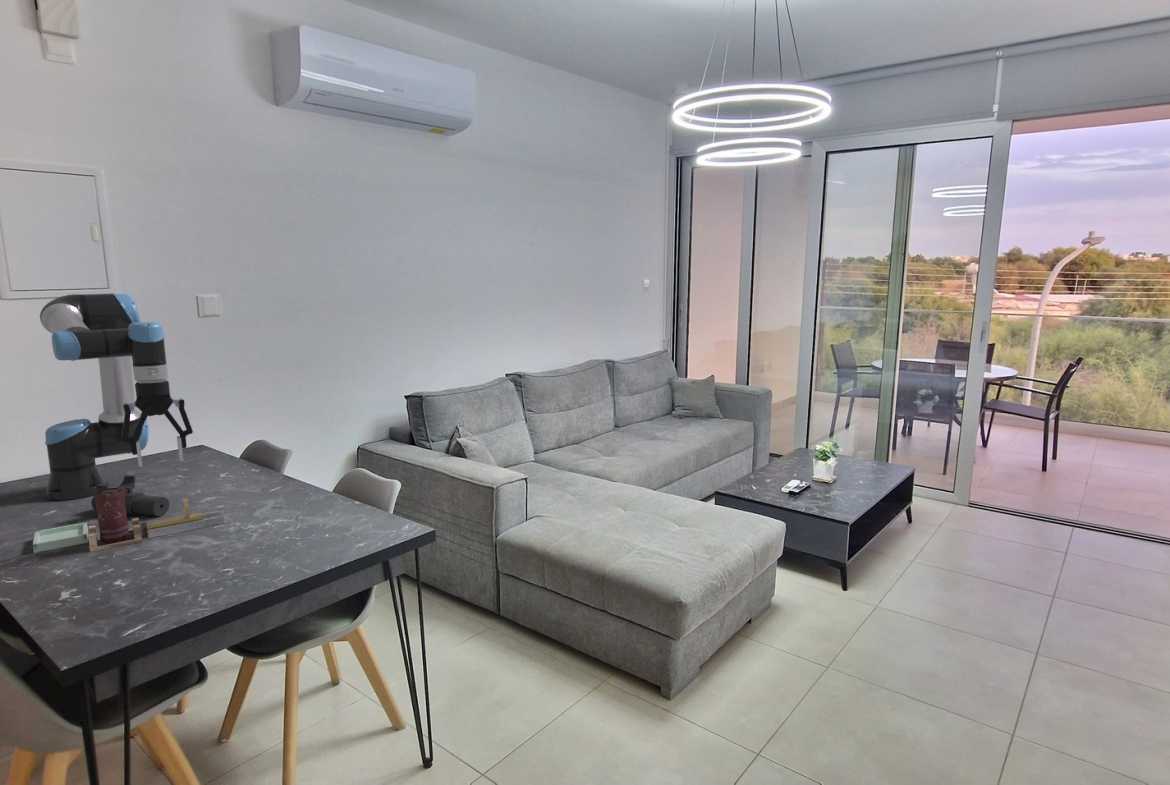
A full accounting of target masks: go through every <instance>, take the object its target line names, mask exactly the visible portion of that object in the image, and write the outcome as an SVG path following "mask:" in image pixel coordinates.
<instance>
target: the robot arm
mask: <svg viewBox="0 0 1170 785" xmlns="http://www.w3.org/2000/svg"><path fill="white" fill-rule="evenodd" d="M39 319H40V320H39V321H40V323H41V325H42V327H43V328H44V329H45V330H46V331H47V332H49V333H50V334H52V335H51V345H52V351H53V354H54V357H55V359H56V360H57V361H71V362H72V361H74V362H75V361H80V360H81V361H82V360H91V359H92V360H95V359H98V365H99V377H100V387H101V396H102V397H101V398H102V399H101V400H102V409H103V411H102V412H101V413H99V415H98V421H97V422H91V421H90V419H89V418H88V419H87V418H80V419H78V418H77V419H71V420H67V421H63V422H59V423H57V424H53V425H51V426H49V427H48V428H47V429H45V433H44V434H45V441H44V444H45V445H46V450H47V457H48V459H47V460H48V464H49V466H48V467H49V472H50V473H49V478H48V482H47V486H46V489H45V494H46V499H48V500H51V501H67V500H68V501H69V500H76V499H82V498H86V497H90V496H94V495H95V494H96V492H98V489H97V487H96V485H106V483H105V482H106V481H105V479H104V478H103V477H102V474H101V473H100V471H99V469H98V467H97V464H96V459H98V458H106V457H112V456H118V455H119V456H120V455H125V454H128V455H129V454H131V455H132V456H135V455H137V464H138V465H137V466H138V468H143V460H142V451H143V450H144V449H146V447H147V445H148V442H149V424H148V423H149V422H148V420H147V418H148V417H153V416H163V415H164V417H165V418H166V419H167V420H168V421H169V423H170V424H171V426H172V427H173V428H174V430H175V431H176V432H177V433H178V434H179V435H178V436H176V443H177V450H178V460H179V461H180V462H184V453H183V449H186V448H187V436H188V435H192V434H193V432H194V430H193V428H192V425H191V422H190V420H189V417H188V414H187V411H186V409H185V400H184V399H183V398H182V397H180V398H172V396H171V392H170V382H169V380H167V379H169V373H168V365H167V356H166V355H167V354H166V347H165V334H164V330H163V325H162V324H161V323H160V322H157V321H156V322H154V321H141V317H140V314H139V310H138V307H137V304H136V302H135V300H134V298H133V297H132V296H131V295H129V294H125V293H122V294H121V293H115V292H113V293H89V294H88V293H86V294H83V293H82V294H81V293H80V294H77V293H76V294H75V293H74V294H73V293H72V294H66V295H62V296H59V297H56V298H54V299H52V300H50V301H49V302H47V303H46V304H45V305H44V306H43V307H42V309H41V311H40V314H39ZM134 381H136V382H135V384H134ZM134 388H135V390H134ZM135 395H136V397H135ZM135 398H136V399H135ZM173 404H174V405H175V407H176V408H178V411H179V413H180V416H181V418H182V422H183V424H184V426H185V429H184V430H183V429H182V427H181V425H180V424H179V423H178V422H177V420H176V418H174V416H173V415H172V413H171V412H170V410H169V409H170V408H171V406H172V405H173ZM136 408H137V409H138V410H137V409H136Z"/></svg>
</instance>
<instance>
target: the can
mask: <svg viewBox="0 0 1170 785" xmlns="http://www.w3.org/2000/svg"><path fill="white" fill-rule="evenodd" d="M108 488H109V489H104V490H100V491H98V492H96V496H95V501H96V509H97V511H96V515H97V521H98V530H99V535H100V538H101V539H100V543H101V544H102V545H108V544H113V543H118V542H123V541H128V540H129V538H130V533H129V530H130V529H129V522H128V515H127V514H126V507H125V495H124V490H123V489H122V488H116V487H111V488H110V487H108Z"/></svg>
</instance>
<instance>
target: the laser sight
mask: <svg viewBox="0 0 1170 785" xmlns="http://www.w3.org/2000/svg"><path fill="white" fill-rule="evenodd" d="M136 478H137V476H136V475H128V474H127V475H123V480H122V482H121V483H120V484H119V485H118V486H116V487H115V488H122V489H123V490H124V495H125V507H126V514H127V516H134V517H135V516H139V515H146V516H156V517H157V516H158V517H162V516H164V515H166V514H167V512H168V510H169V509H170V501H169V499H168V498H167V497H165V496H157V495H148V494H147V495H146V494H144V493H143V492H134V491H133V489H135V487H136V485H135V484H136ZM96 487H97V489H98V491H100V490H104V489H109V488H110V487H109V485H108V484H105V485H96ZM95 496H96V494H94V495H93V496H92V498H91V507H92V509H93V510H94V511H96V512H97V509H96V501H95Z"/></svg>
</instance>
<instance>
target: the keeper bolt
mask: <svg viewBox="0 0 1170 785" xmlns="http://www.w3.org/2000/svg"><path fill="white" fill-rule="evenodd" d="M181 502H182V510H183V515H179V516H175V517H169V518H164V519H160V520H159V519H158V520H153V521H147V522H142V523H139V524H140V529H141V537H142V539H143V538H148V532H147V530H150V529H155V528H161V527H166V526H171V525H176V524H182V523H187V522H192V521H198V520H202V514H203V513H201V512H197V513H192V514H191V513H190V504H189V499H188V497H186V498H185V497H184V498H181ZM137 525H138V524H137Z"/></svg>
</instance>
